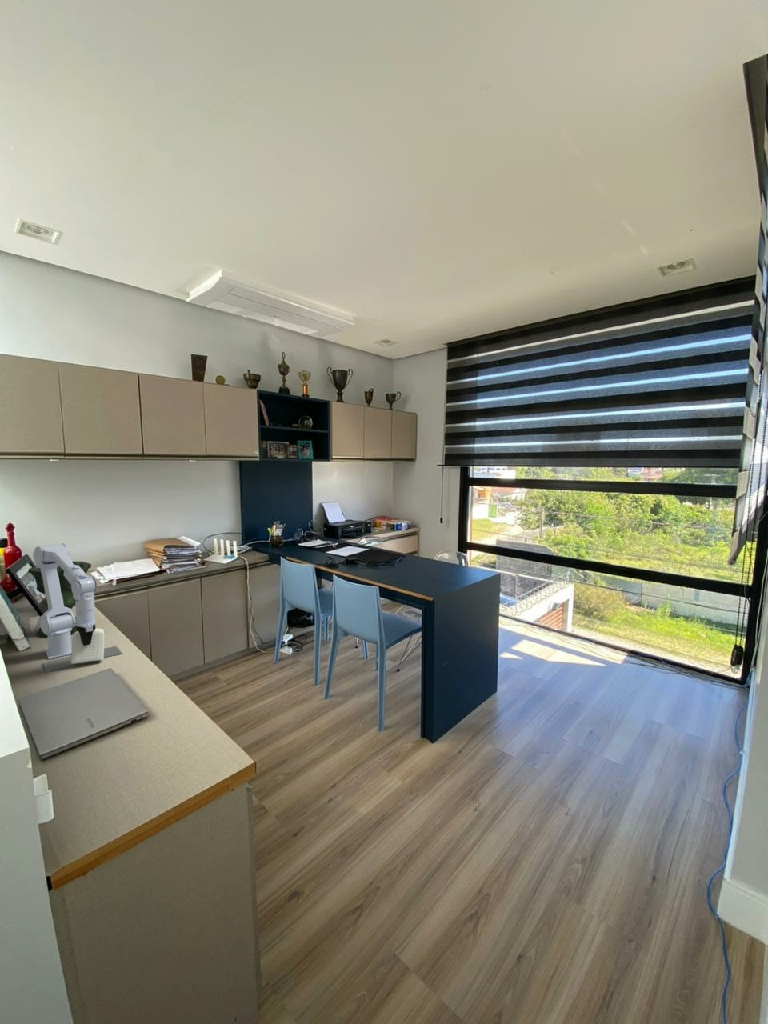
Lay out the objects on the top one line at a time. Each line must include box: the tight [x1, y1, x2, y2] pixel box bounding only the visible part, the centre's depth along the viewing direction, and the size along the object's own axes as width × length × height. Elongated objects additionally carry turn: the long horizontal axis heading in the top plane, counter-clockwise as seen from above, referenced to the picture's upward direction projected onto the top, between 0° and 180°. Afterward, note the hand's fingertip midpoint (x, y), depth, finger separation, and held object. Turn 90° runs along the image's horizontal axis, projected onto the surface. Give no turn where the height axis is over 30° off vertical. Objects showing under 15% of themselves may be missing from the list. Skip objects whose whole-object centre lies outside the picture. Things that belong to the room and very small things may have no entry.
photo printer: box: [70, 627, 106, 664], centre depth 160 cm, size 10×4×12 cm, turn 124°
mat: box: [42, 645, 123, 673], centre depth 164 cm, size 10×24×1 cm, turn 135°
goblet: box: [27, 561, 92, 638], centre depth 191 cm, size 22×23×30 cm
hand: (86, 644), depth 158 cm, fingers closed
